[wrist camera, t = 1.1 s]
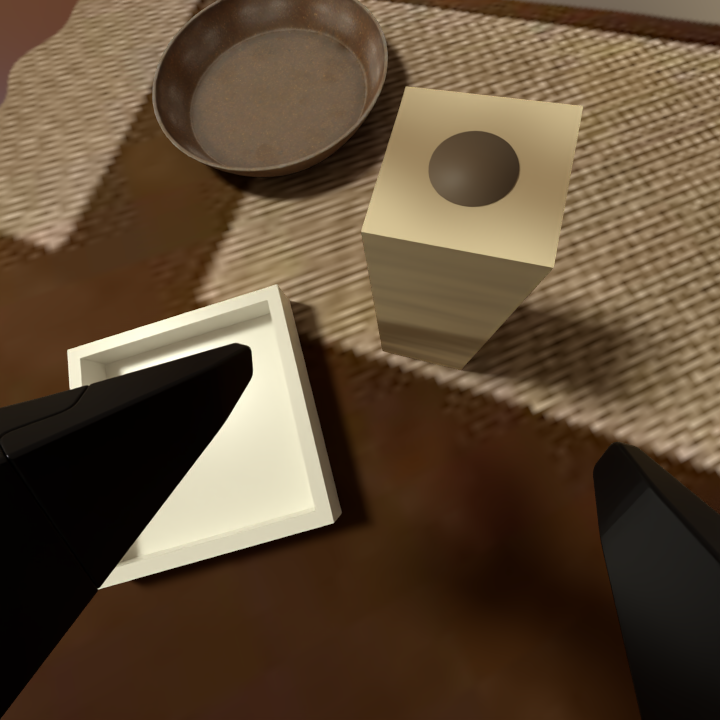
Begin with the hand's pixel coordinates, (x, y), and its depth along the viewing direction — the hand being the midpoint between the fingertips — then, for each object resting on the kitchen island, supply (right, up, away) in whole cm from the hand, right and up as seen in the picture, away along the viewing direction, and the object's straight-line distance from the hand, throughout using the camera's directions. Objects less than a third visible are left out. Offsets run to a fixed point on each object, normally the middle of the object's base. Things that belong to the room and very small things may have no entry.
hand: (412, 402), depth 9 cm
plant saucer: (-8, +22, +19) cm, 30 cm away
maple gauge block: (+3, +3, +13) cm, 14 cm away
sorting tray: (-11, -3, +13) cm, 18 cm away
